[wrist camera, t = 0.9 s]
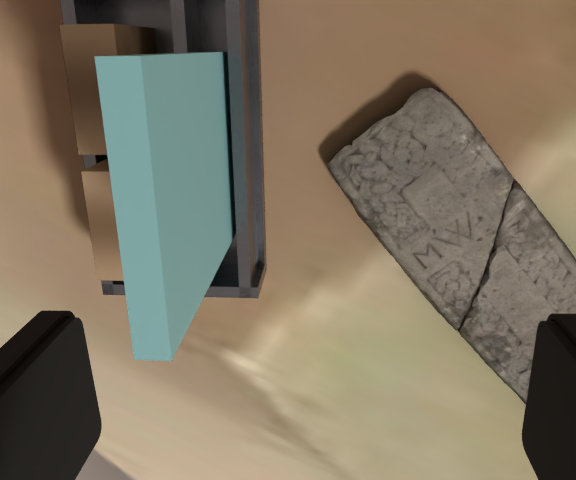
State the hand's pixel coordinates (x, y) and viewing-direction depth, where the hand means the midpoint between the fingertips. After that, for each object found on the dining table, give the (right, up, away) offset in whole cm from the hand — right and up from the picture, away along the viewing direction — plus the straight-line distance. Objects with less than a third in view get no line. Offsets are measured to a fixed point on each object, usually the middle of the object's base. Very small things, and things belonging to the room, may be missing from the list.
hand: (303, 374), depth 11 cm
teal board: (-5, +10, +26) cm, 28 cm away
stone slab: (+15, 0, +30) cm, 33 cm away
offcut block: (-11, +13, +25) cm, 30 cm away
